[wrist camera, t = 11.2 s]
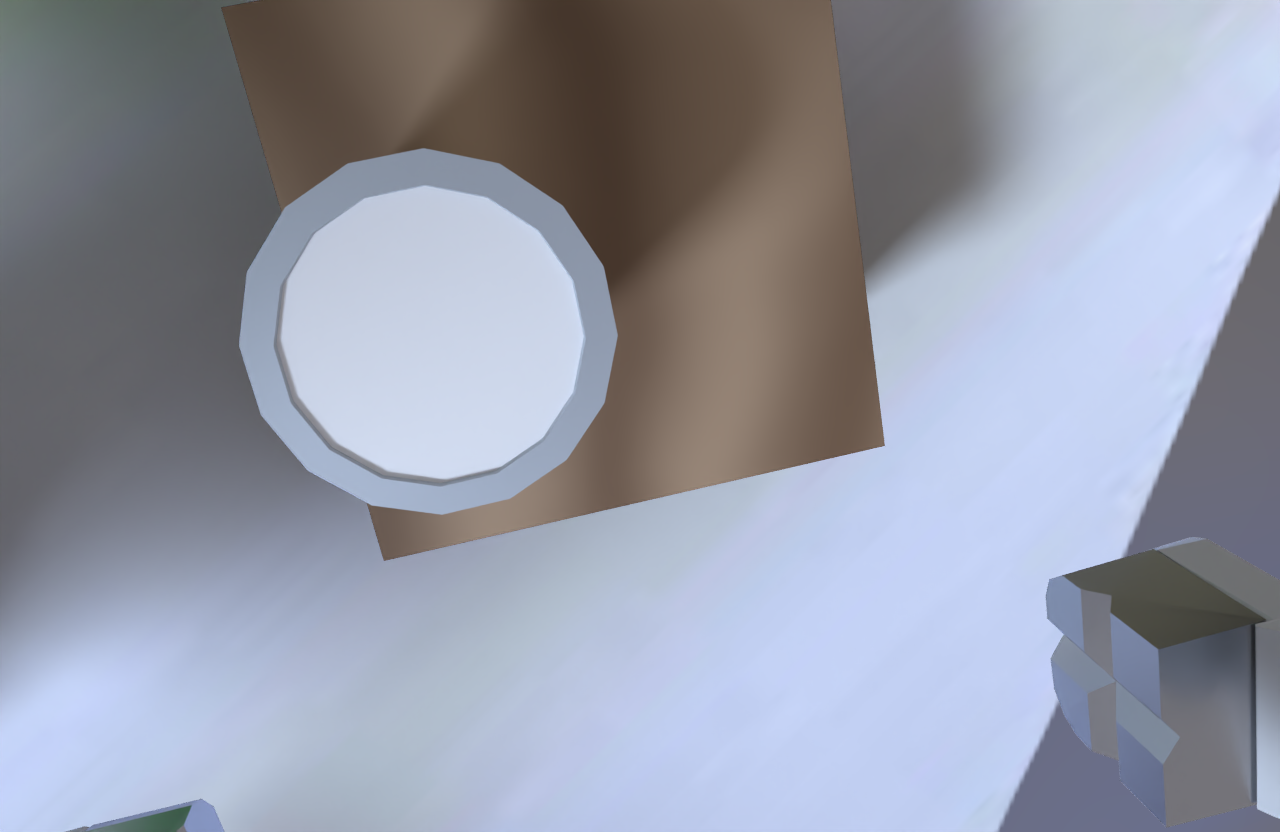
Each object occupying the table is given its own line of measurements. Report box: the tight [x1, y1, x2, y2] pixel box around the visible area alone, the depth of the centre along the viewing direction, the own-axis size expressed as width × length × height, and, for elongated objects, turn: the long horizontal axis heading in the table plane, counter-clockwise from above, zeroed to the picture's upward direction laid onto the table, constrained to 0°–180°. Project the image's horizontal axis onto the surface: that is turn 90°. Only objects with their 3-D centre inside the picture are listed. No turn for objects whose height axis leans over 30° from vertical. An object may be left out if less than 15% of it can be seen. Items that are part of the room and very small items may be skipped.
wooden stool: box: [221, 0, 885, 561], centre depth 30 cm, size 14×14×10 cm
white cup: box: [239, 148, 618, 515], centre depth 22 cm, size 7×7×7 cm
